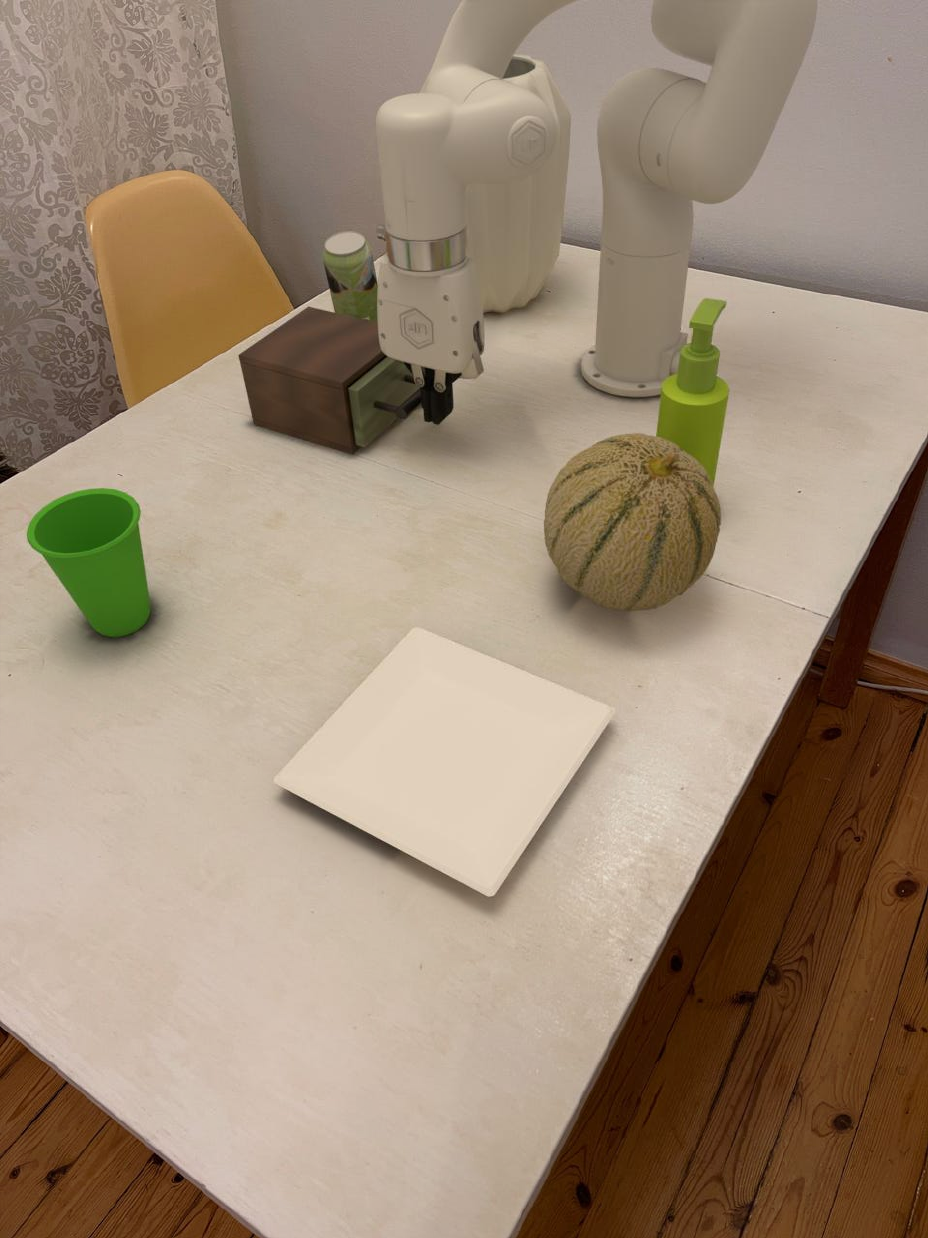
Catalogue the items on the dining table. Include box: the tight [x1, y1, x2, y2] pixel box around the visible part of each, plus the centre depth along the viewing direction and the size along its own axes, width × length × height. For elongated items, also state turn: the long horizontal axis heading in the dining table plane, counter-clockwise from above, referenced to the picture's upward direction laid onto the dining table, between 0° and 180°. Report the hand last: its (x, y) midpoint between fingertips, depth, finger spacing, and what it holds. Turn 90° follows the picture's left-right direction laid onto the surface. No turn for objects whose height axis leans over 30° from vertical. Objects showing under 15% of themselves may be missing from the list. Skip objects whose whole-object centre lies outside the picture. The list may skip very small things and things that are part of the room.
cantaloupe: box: [543, 432, 722, 612], centre depth 81 cm, size 15×15×15 cm
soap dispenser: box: [655, 297, 730, 488], centre depth 88 cm, size 6×7×20 cm
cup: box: [26, 487, 152, 638], centre depth 82 cm, size 9×9×11 cm
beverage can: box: [322, 230, 378, 323], centre depth 121 cm, size 6×7×12 cm
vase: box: [419, 54, 572, 314], centre depth 121 cm, size 20×20×28 cm
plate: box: [272, 626, 617, 898], centre depth 72 cm, size 19×19×2 cm
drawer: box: [348, 355, 422, 448], centre depth 106 cm, size 17×11×7 cm
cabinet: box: [237, 306, 385, 455], centre depth 107 cm, size 14×13×9 cm
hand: (438, 416), depth 102 cm, fingers closed
